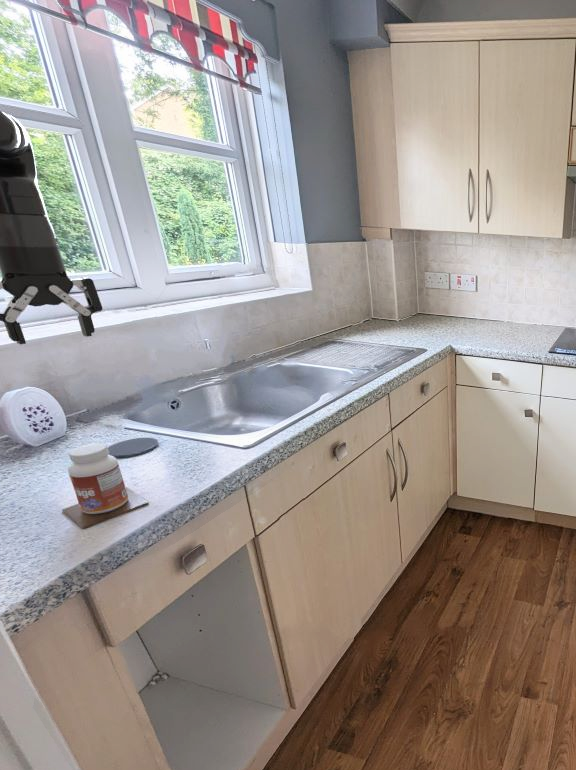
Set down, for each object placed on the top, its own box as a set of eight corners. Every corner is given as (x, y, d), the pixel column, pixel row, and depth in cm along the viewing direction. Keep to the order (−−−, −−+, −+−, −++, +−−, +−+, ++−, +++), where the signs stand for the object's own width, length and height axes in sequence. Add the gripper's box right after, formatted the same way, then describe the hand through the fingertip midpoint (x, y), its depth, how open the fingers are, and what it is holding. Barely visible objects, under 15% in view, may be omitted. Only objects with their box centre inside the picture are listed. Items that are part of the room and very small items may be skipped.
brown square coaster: (82, 529, 74) (82, 527, 74) (62, 511, 78) (61, 509, 78) (149, 504, 81) (148, 502, 81) (127, 488, 85) (126, 486, 85)
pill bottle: (72, 511, 78) (52, 453, 74) (113, 493, 83) (96, 438, 79) (97, 518, 76) (78, 460, 72) (137, 500, 81) (121, 444, 78)
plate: (115, 462, 94) (114, 459, 94) (98, 450, 99) (97, 448, 98) (166, 446, 102) (165, 444, 101) (147, 436, 106) (147, 434, 106)
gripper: (75, 243, 82) (99, 330, 88) (-47, 241, 71) (-10, 342, 76) (90, 245, 79) (115, 336, 84) (-35, 244, 67) (3, 350, 73)
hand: (55, 339), depth 80 cm, fingers open, 8 cm apart
